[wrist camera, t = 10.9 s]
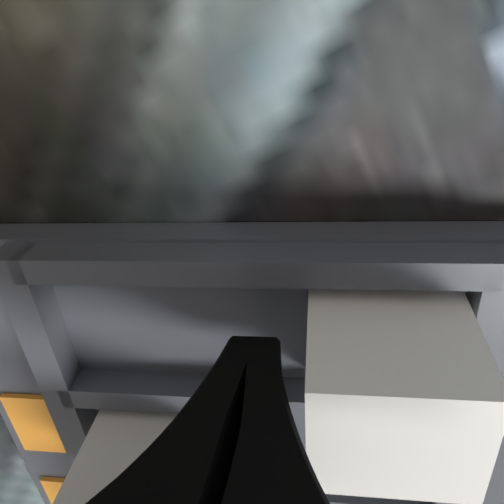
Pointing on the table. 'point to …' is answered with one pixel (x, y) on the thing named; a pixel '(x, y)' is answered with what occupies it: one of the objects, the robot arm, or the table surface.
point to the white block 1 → (110, 451)
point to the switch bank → (199, 313)
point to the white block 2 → (401, 396)
